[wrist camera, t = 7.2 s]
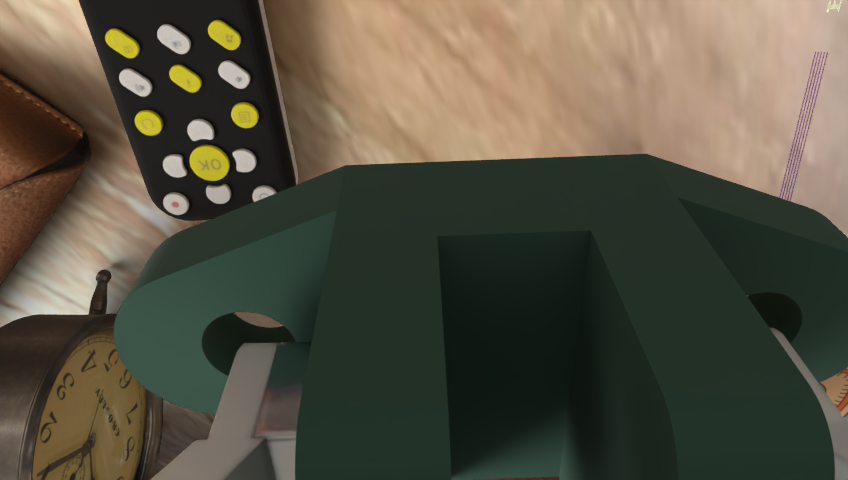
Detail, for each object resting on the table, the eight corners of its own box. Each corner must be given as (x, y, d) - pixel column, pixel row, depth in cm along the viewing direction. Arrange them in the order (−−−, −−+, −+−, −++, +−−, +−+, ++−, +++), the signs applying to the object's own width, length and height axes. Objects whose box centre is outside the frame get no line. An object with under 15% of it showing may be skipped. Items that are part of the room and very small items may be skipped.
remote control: (239, -132, 21) (225, -128, 20) (306, 195, 29) (299, 219, 27) (57, -117, 21) (27, -111, 20) (169, 206, 29) (154, 231, 27)
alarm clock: (187, 407, 36) (60, 760, 23) (91, 411, 36) (-93, 766, 23) (135, 250, 30) (-81, 606, 17) (20, 253, 30) (-290, 613, 17)
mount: (890, 144, 9) (1319, 434, 5) (797, 375, 11) (1024, 701, 7) (103, 174, 9) (-168, 488, 5) (181, 397, 11) (47, 733, 7)
